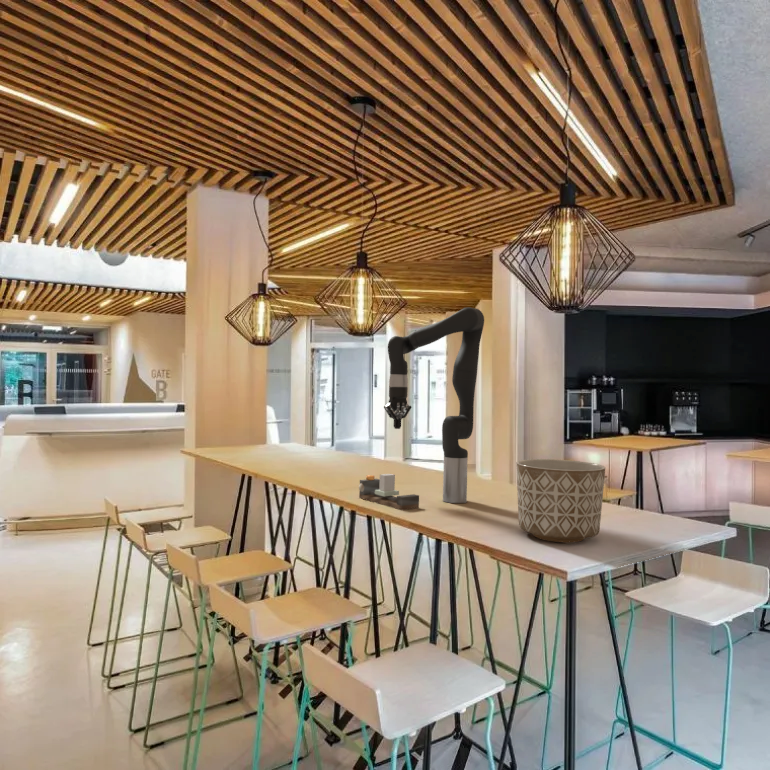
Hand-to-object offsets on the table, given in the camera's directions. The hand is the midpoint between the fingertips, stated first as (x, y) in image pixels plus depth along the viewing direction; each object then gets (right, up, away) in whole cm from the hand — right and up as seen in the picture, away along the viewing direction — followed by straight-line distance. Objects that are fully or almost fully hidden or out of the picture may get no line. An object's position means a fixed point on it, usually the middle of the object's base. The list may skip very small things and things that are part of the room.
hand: (397, 428), depth 252 cm
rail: (-4, -27, -16) cm, 32 cm away
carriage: (-4, -24, -15) cm, 29 cm away
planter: (+48, -29, -63) cm, 84 cm away
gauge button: (-11, -20, -6) cm, 23 cm away
